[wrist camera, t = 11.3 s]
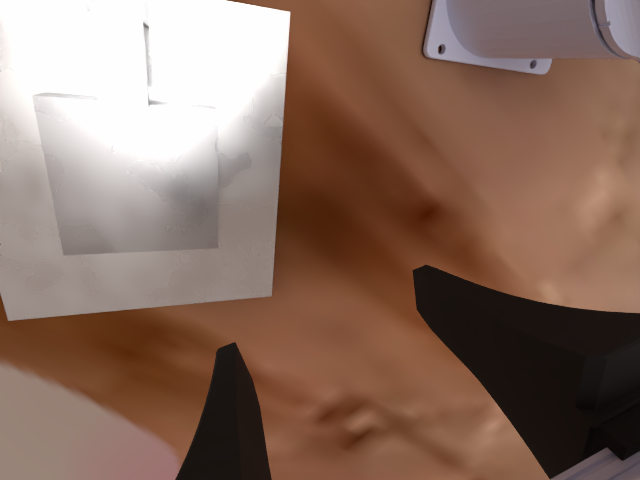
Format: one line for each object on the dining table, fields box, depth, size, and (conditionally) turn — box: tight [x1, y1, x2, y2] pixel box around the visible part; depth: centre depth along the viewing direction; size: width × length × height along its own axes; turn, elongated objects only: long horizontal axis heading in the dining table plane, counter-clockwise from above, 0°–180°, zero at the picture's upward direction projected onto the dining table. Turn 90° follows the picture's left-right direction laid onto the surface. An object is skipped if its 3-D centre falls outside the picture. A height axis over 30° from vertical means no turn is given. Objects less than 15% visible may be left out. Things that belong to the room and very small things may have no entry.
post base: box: [0, 0, 290, 321], centre depth 17 cm, size 14×16×5 cm
